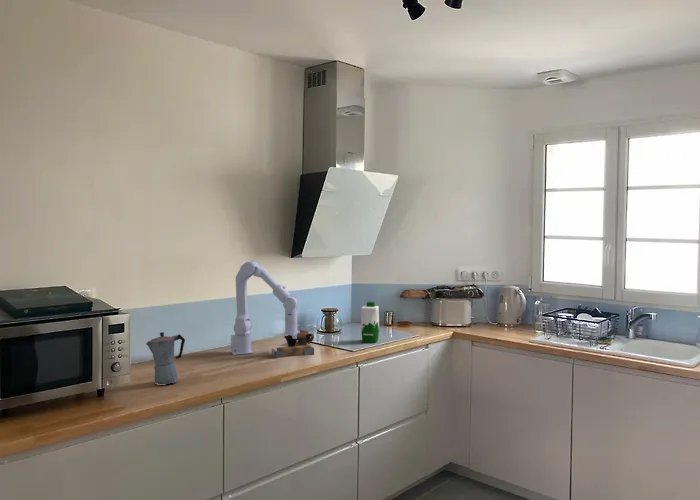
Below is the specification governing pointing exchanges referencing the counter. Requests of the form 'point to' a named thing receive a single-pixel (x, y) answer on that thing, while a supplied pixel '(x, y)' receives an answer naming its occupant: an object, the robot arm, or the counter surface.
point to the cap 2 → (309, 351)
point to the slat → (293, 350)
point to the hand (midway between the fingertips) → (291, 351)
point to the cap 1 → (278, 353)
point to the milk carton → (370, 323)
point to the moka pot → (165, 358)
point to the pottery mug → (304, 338)
